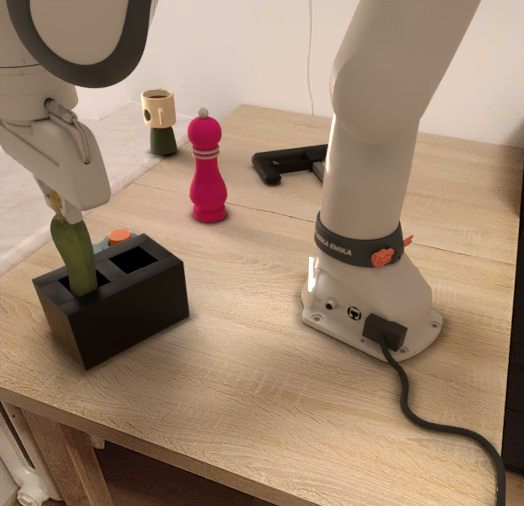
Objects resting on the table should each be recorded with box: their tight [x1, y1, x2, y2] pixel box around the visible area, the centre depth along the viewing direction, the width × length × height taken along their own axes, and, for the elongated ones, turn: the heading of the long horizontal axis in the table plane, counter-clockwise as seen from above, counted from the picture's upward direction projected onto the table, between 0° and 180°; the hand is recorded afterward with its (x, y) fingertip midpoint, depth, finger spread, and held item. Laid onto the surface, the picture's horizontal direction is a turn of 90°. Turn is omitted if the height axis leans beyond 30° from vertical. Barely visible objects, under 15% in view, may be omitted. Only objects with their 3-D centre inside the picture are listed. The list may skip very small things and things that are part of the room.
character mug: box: [140, 88, 178, 156], centre depth 114 cm, size 11×7×13 cm, turn 15°
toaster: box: [31, 232, 190, 372], centre depth 71 cm, size 10×18×10 cm, turn 133°
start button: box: [107, 228, 131, 246], centre depth 83 cm, size 4×4×2 cm
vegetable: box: [49, 188, 98, 298], centre depth 63 cm, size 4×4×20 cm
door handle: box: [251, 143, 328, 185], centre depth 111 cm, size 3×20×16 cm
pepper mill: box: [186, 107, 228, 223], centre depth 91 cm, size 7×7×20 cm
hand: (65, 213), depth 59 cm, fingers closed on vegetable, 3 cm apart
